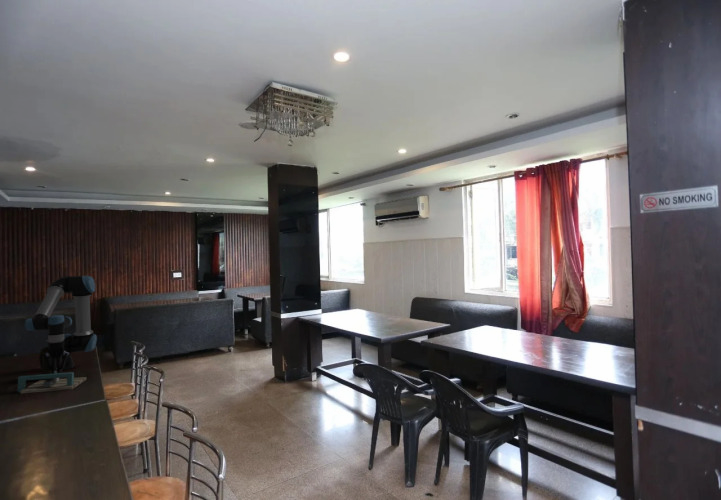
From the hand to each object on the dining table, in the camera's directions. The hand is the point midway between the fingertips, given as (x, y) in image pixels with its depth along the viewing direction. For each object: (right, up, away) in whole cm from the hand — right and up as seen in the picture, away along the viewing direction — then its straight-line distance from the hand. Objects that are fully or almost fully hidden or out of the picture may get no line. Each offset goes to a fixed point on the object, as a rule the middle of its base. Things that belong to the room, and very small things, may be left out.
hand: (56, 381), depth 233 cm
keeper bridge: (-2, -3, -6) cm, 6 cm away
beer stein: (-20, -4, +18) cm, 27 cm away
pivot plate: (-1, -3, +1) cm, 3 cm away
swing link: (-2, -1, -1) cm, 3 cm away
